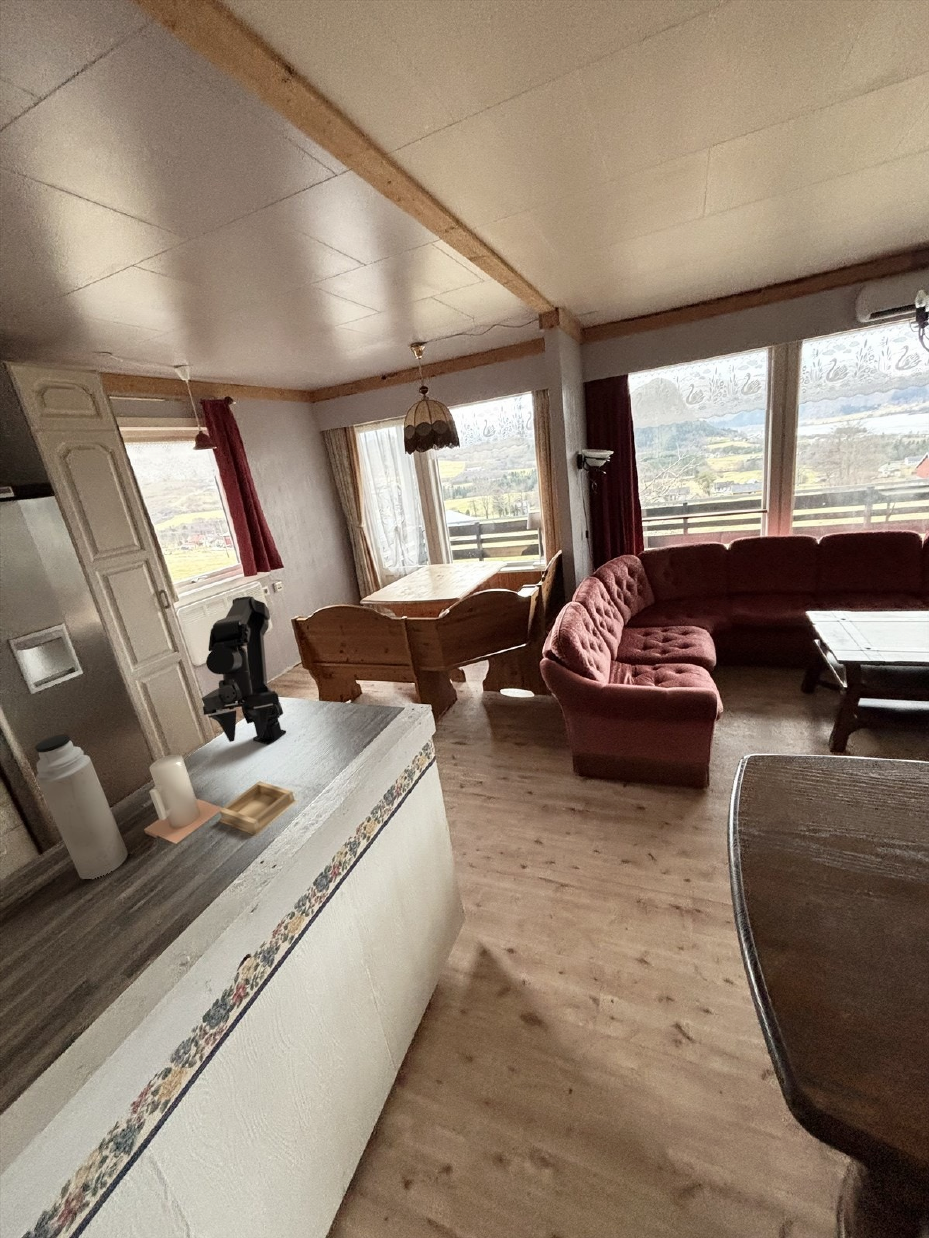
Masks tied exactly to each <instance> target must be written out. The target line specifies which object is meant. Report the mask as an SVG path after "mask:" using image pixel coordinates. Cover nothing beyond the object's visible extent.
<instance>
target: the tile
mask: <svg viewBox="0 0 929 1238" xmlns="http://www.w3.org/2000/svg"><path fill="white" fill-rule="evenodd" d="M196 800H197V803H198V806H199V809H200V816H199V817H198V819H197V820H195V821H194V822H193V823H191V824H189V825H187V826H185V827H182V828H172V827H170V825H169V822H168V819H167V818H166V819H164V820H160V819H159V818H158V819H157V820H155V821H154V822H153V823H151V824H150V825H148V826H147V827H145V828H144V833H145V834H147V835H149V836H151V837H153V838H155V839H157V838H158V837H160V838H161V839H164V840H166V841H169V842H170V843H173V844H175V845H176V844H178V843H179V842H181V841H182V840H183V839H185V838H186V837H187V836H189V835H190V834H191V833H193V832H194V831H196V830H197V829H198V828H200V827H201V826H202V825H203V824H205V823H206V822H207V821H209V820H211V819H212V818H213V817H214V816H215V815H217V814H218V813H220V810H221V809H223V808H224V807H221V806H218V805H214V804H213V803H210V802H207V801H204V800H202V799H199V798H196Z"/></svg>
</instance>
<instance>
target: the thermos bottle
mask: <svg viewBox="0 0 929 1238" xmlns="http://www.w3.org/2000/svg"><path fill="white" fill-rule="evenodd" d="M35 751H36V752H37V753H38V756H39V760H38V761H37V763H36V769H37V770H36V771H37V774H36V777H35V778H36V781H37V784H38V785H39V788H40V791H41V792H42V795H43V798H44V800H45V802H46V804H47V806H48V808H49V811H50V814H51V815H52V817H53V820H54V822H55V825H56V826H57V829H58V831H59V833H60V835H61V838H62V840H63V842H64V844H65V846H66V849H67V850H68V853H69V856H70V858H71V860H72V861H73V865H74V867H75V870H76V871H77V873H78V876H79V878H80V879H82V880H84V879H92V880H96V879H98V878H97V877H99V878H101V877H100V876H102V877H104V876H107V875H108V874H110V873H112V872H113V871H115V870H116V869H118V868H119V867H120V866H121V865H122V864H123V863H124V862H125V861H126V859H127V857H128V849H127V847H126V845H125V842H124V839H123V838H122V835H121V833H120V832H121V831H120V830H119V829H120V828H119V827H118V825H117V822H116V819H115V817H114V815H113V813H112V809H111V808H110V805H109V802H108V800H107V797H106V794H105V792H104V789H103V787H102V785H101V782H100V779H99V778H98V775H97V772H96V769H95V767H94V764H93V762H92V759H91V757H90V756H89V755H87V754H84V750H83V749H82V748H81V747H80V746H74V744H73V742H72V740H71V737H70V735H69V734H66V733H64V734H58V735H54V736H51V737H48V738H46V739H43V740H42V741H39V743H37V744H36V745H35ZM111 871H112V872H111ZM107 873H108V874H107ZM106 874H107V875H106ZM103 875H104V876H103ZM95 878H96V879H95Z"/></svg>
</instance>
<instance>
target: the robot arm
mask: <svg viewBox="0 0 929 1238" xmlns="http://www.w3.org/2000/svg"><path fill="white" fill-rule="evenodd" d="M270 613H271V612H270V609H269V608H268V606H267V605H266V603H265V602H263V601H260V600H258V599H255V598H254V596H250V595H247V596H241V597H235V598H234V599H232V605H231V607H230V609H229V611H228V612H227V614H226V617H223V618H221V619H218V620H217V621H216V622H215V623H213V625H212V628H210V632H209V633H210V634H209V642H208V651H209V652H210V653H208V655H207V657H206V661H205V664H206V668H207V669H208V670H209V672H211V673H213V674H215V675H222V679H221V680H219V681H218V688H216V689H213V690H212V691H211V692H209V693H207V694H206V695H204V696H203V697H201V701H202V703H203V706H202V710H203V716H206V715H208V716H207V717H208V718H209V719H210V718H211V719H213V720H214V721H216V722H218V724H219V725H220V727H221V729H222V731H223V733H224V735H225V736H226V738H227V740H228V742H229V743H231V742H235V738H236V726H237V725H236V724H237V710H234V708H241V712H242V714H243V716H244V717H243V718H244V720H245V721H246V724H251V723H253V725H254V728H255V733H256V736H254V737H253V738H252V740H253V741H255V742H258V743H262V744H265V745H270V744H272V743H273V742H274V741H276V740H278V739H279V738H280V737H282V736H284V735H285V734H287V730H285V729H282V727H281V724H280V721H279V719H280V718H281V716H282V715H284V711H283V708H282V704H281V702H280V698H279V694H278V693H277V691H275V690H272V689H271V687H270V686H269V685H268V678H267V675H268V674H267V665H266V664H267V663H266V653H265V652H266V651H265V639H264V638H265V634H266V632H267V631H268V629H269V627H270V625H269V620H271V614H270ZM244 647H246V649H245V648H244Z"/></svg>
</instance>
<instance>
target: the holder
mask: <svg viewBox="0 0 929 1238" xmlns="http://www.w3.org/2000/svg"><path fill="white" fill-rule="evenodd" d="M297 801H298V799H295V797H294V793H293V791H292V790H289V789H286V788H283V787H279V786H276V785H273V784H270V783H267V782H264V781H260V780H259V781H258V782H256V783H254V784H253V785H252V786H251V787H249V788H248V789H246V790H245V791H244V792H243V793H241V794H240V795H239V796H237V797H235V798H234V800H233V799H232V801H231V802H230V803H228V804H227V805H225V806H224V807H222V808H223V809H221V810H220V812H219V813H220V818H221V820H220V821H219V822H220V823H223V824H226V825H227V826H230V827H233V828H235V829H238V830H240V831H243V832H245V833H249V834H251V835H253V836H258V835H259V834H260V833H261V832H262V831H264V830H265V829H266V828H267V827H269V825H270V824H271V823H273V822H274V821H275V820H276V819H278V818H279V816H282V815H283V813H284V812H286V811H287V810H289V808H291V807H292V806H293V805H294V804H295V803H296V802H297Z"/></svg>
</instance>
